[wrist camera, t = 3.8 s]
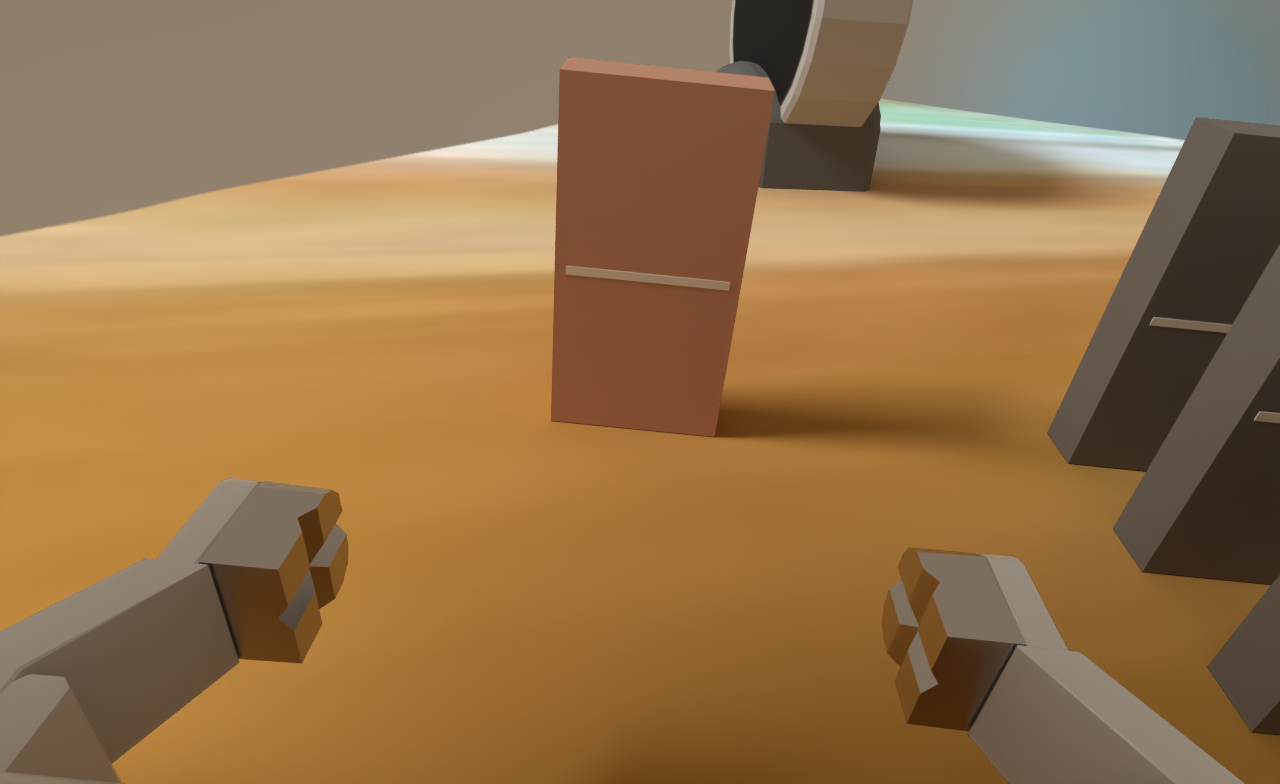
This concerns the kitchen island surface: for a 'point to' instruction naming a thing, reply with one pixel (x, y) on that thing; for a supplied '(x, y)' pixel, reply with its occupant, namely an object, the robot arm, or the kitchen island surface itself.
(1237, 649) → the domino
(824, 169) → the alarm clock
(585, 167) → the domino
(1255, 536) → the domino
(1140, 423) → the domino
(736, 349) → the kitchen island surface
